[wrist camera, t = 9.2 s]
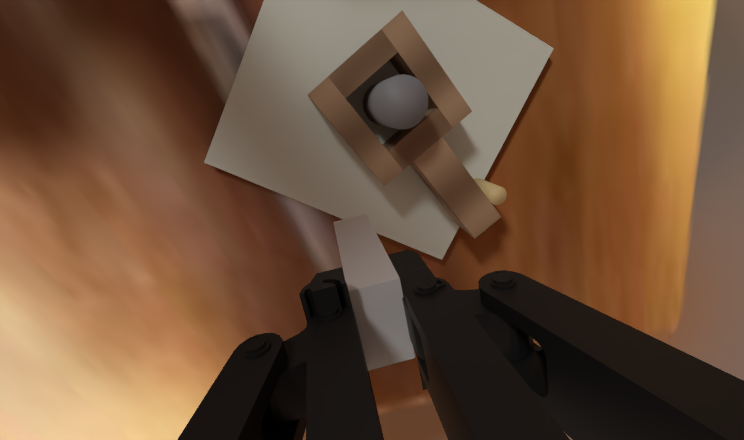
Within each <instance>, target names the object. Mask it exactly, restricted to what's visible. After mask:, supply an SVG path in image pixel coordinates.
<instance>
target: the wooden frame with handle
mask: <svg viewBox="0 0 744 440" xmlns="http://www.w3.org/2000/svg"><path fill="white" fill-rule="evenodd" d="M388 60H389V61H390V62H391V63H392V65H393V66H394V67H395V69H396V70H397V72H398V73H399V74H400V75H401V74H405V75H410V76H413V77H415V78H417V79H418V80H419V81H420V82H421V83H422V84H423V85H424V87H425V89H426V91H427V94H428V109H427V112H426V114H425V116H424V118H423V119H422V120H421V121H420V122H419V123H418V124H417V125H415V126H414V127H412V128H409V129H400V130H398V131H397V132H396V133H395V134H394V135H393V136H392V137H390V138H389V139H388V140H387V141H386V142H385V143H383V144H382V143H381V142H380V141H379V139H378V138H377V137H376V136H375V135H374V133H373V132H372V131H371V130H370V128H369V127H368V126H367V125H366V123H365V122H364V121H363V120H362V118H361V117H360V116H359V115H358V113H357V112H356V111H355V110H354V109H353V107H352V106H351V105H350V104H349V102H348V101H347V100H346V99H345V98H347V97H348V96H349V95H350V94H351V93H352V92H353V91H354V90H356V89H357V88H358V87H359V86H360V85H361V84H362V83H364V82H365V81H366V80H367V79H368V78H369V77H370V76H371V75H373V74H374V73H375V72H376V71H377V70H378V69H379V68H381V67H382V66H383V65H384V64H385V63H386V62H387V61H388ZM308 97H309V98H310V99H311V100H312V102H313V103H314V104H315V105H316V106H317V107H318V109H319V110H320V111H321V112H322V113H323V115H324V116H325V117H326V118H327V119H328V121H329V122H330V123H331V124H332V125H333V126H334V128H335V129H336V130H337V131H338V132H339V134H340V135H341V136H342V137H343V138H344V140H345V141H346V142H347V143H348V144H349V145H350V147H351V148H352V149H353V150H354V151H355V153H356V154H357V155H358V156H359V157H360V159H361V160H362V161H363V162H364V163H365V164H366V166H367V167H368V168H369V169H370V170H371V172H372V173H373V174H374V175H375V176H376V178H377V179H378V180H379V181H380V182H381V183H382V184H383V185H384V186H385V185H386V184H388V183H389V182H390V181H391V180H392V179H393V178H395V177H396V176H397V175H398V174H399V173H400V172H402V171H403V170H404V169H405V168H406V167H408V166H409V165H411V167H412V168H413V169H414V171H415V172H416V173H417V174H418V176H419V177H420V178H421V179H422V181H423V182H424V183H425V184H426V186H427V187H428V188H429V189H430V191H431V192H432V193H433V194H434V196H435V197H436V198H437V199H438V201H439V202H440V203H441V204H442V206H443V207H444V208H445V209H446V211H447V212H448V213H449V215H450V216H451V217H452V218H453V220H454V221H455V222H456V223H457V225H458V226H459V227H461V228H462V229H463V230H464V231H466V232H467V233H468V234H469V235H471V236H472V237H473V238H474V239H475V238H476V237H477V236H479V235H480V234H481V233H482V232H484V231H485V230H486V229H487V228H488V227H490V226H491V225H492V224H493V223H494V222H496V221H497V220H498V219H499V218H501V216H500V214H499V213H498V212H497V210H496V209H495V208H494V206H493V205H492V203H491V202H490V201H489V199H488V198H487V197H486V195H485V194H484V193H483V191H482V190H481V189H480V187H479V186H478V185H477V183H476V182H475V180H474V179H473V178H472V176H471V175H470V174H469V172H468V171H467V170H466V168H465V167H464V166H463V164H462V163H461V162H460V160H459V159H458V157H457V156H456V155H455V153H454V152H453V151H452V149H451V148H450V147H449V145H448V144H447V143H446V141H445V140H444V139H443V136H444V135H445V134H446V133H447V132H449V131H450V130H451V129H452V128H453V127H454V126H456V125H457V124H458V123H459V122H460V121H461V120H463V119H464V118H465V117H466V116H467V115H468V114H470V113H471V112H472V110H471V109H470V107H469V106H468V104H467V103H466V102H465V100H464V99H463V97H462V96H461V94H460V93H459V91H458V90H457V89H456V87H455V86H454V84H453V83H452V81H451V80H450V78H449V77H448V76H447V74H446V73H445V71H444V70H443V68H442V67H441V65H440V64H439V62H438V61H437V60H436V58H435V57H434V55H433V54H432V52H431V51H430V49H429V48H428V47H427V45H426V44H425V42H424V41H423V39H422V38H421V36H420V35H419V34H418V32H417V31H416V29H415V28H414V26H413V25H412V23H411V22H410V21H409V19H408V18H407V16H406V15H405V13H404V12H403V10H402V11H401V12H400V13H399V14H397V15H396V16H395V17H394V18H393V19H392V20H391V21H390V22H388V23H387V24H386V25H385V26H384V27H383V28H382V29H381V30H379V31H378V32H377V33H376V34H375V35H374V36H373V37H372V38H371V39H369V40H368V41H367V42H366V43H365V44H364V45H363V46H362V47H360V48H359V49H358V50H357V51H356V52H355V53H354V54H353V55H351V56H350V57H349V58H348V59H347V60H346V61H345V62H344V63H342V64H341V65H340V66H339V67H338V68H337V69H336V70H335V71H333V72H332V73H331V74H330V75H329V76H328V77H327V78H326V79H325V80H323V81H322V82H321V83H320V84H319V85H318V86H317V87H316V88H314V89H313V90H312V91H311V92H310V93H309V94H308Z"/></svg>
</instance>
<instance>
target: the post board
mask: <svg viewBox="0 0 744 440" xmlns="http://www.w3.org/2000/svg"><path fill="white" fill-rule="evenodd" d="M402 10H403V12H404V13H405V15H406V16H407V18H408V19H409V21H410V22H411V23H412V25H413V26H414V28H415V29H416V31H417V32H418V34H419V35H420V36H421V38H422V39H423V41H424V42H425V44H426V45H427V47H428V48H429V49H430V51H431V52H432V54H433V55H434V57H435V58H436V60H437V61H438V62H439V64H440V65H441V67H442V68H443V70H444V71H445V73H446V74H447V76H448V77H449V78H450V80H451V81H452V83H453V84H454V86H455V87H456V89H457V90H458V91H459V93H460V94H461V96H462V97H463V99H464V100H465V102H466V103H467V104H468V106H469V107H470V109H471V110H472V112H471V113H470V114H468V115H467V116H466V117H465V118H464V119H463V120H461V121H460V122H459V123H458V124H457V125H456V126H454V127H453V128H452V129H451V130H450V131H449V132H447V133H446V134H445V135H444V136H443V139H444V140H445V141H446V143H447V144H448V145H449V147H450V148H451V149H452V151H453V152H454V153H455V155H456V156H457V157H458V159H459V160H460V162H461V163H462V164H463V166H464V167H465V168H466V170H467V171H468V172H469V174H470V175H471V176H472V178H473V179H474V180H475V182H476V183H477V185H478V186H479V187H480V189H481V190H482V191H483V193H484V194H485V195H486V197H487V198H488V199H489V201H490V202H491V203H492V204H494V205H500V204H502V203H503V202H504V201H505V199H506V197H507V193H506V190H505V189H504V188H502V187H500V186H498V185H495V184H493V183H490V182H488V181H485V180H484V179H485V177H486V176H487V174H488V172H489V170H490V168H491V166H492V164H493V162H494V160H495V159H496V157H497V155H498V153H499V151H500V149H501V147H502V145H503V143H504V141H505V140H506V138H507V136H508V134H509V132H510V130H511V128H512V126H513V124H514V123H515V121H516V119H517V117H518V115H519V113H520V111H521V109H522V107H523V105H524V104H525V102H526V100H527V98H528V96H529V94H530V92H531V90H532V88H533V87H534V85H535V83H536V81H537V79H538V77H539V75H540V73H541V71H542V70H543V68H544V66H545V64H546V62H547V60H548V58H549V56H550V54H551V52H552V51H553V49H554V48H552V47H550V46H549V45H547V44H546V43H544V42H542V41H541V40H539V39H538V38H536V37H534V36H533V35H531V34H530V33H528V32H526V31H525V30H523V29H522V28H520V27H518V26H517V25H515V24H513V23H512V22H510V21H509V20H507V19H505V18H504V17H502V16H501V15H499V14H497V13H496V12H494V11H493V10H491V9H489V8H488V7H486V6H485V5H483V4H481V3H480V2H478V1H476V0H264V2H263V4H262V7H261V10H260V13H259V15H258V18H257V21H256V23H255V26H254V29H253V31H252V34H251V37H250V40H249V42H248V45H247V48H246V50H245V53H244V56H243V59H242V61H241V64H240V67H239V69H238V72H237V75H236V77H235V80H234V83H233V86H232V88H231V91H230V94H229V96H228V99H227V102H226V105H225V107H224V110H223V113H222V115H221V118H220V121H219V123H218V126H217V129H216V132H215V134H214V137H213V140H212V142H211V145H210V148H209V151H208V153H207V156H206V159H205V161H204V163H206V164H209V165H211V166H214V167H216V168H219V169H221V170H224V171H226V172H228V173H231V174H233V175H236V176H238V177H241V178H243V179H246V180H248V181H250V182H253V183H255V184H258V185H260V186H263V187H265V188H268V189H270V190H272V191H275V192H277V193H280V194H282V195H285V196H287V197H290V198H292V199H294V200H297V201H299V202H302V203H304V204H307V205H309V206H312V207H314V208H316V209H319V210H321V211H324V212H326V213H329V214H331V215H333V216H336V217H338V218H341V219H343V220H344V219H348V218H352V217H356V216H360V215H365V214H367V216H368V218H369V220H370V222H371V224H372V226H373V228H374V230H375V232H376V233H377V234H380V235H382V236H385V237H387V238H390V239H392V240H395V241H397V242H399V243H402V244H404V245H407V246H409V247H412V248H414V249H417V250H419V251H421V252H424V253H426V254H429V255H431V256H434V257H436V258H439V259H441V260H442V259H443V257H444V255H445V253H446V251H447V249H448V248H449V246H450V244H451V242H452V240H453V238H454V236H455V234H456V232H457V230H458V229H459V226H458V225H457V223H456V222H455V221H454V220H453V218H452V217H451V216H450V215H449V213H448V212H447V211H446V209H445V208H444V207H443V206H442V204H441V203H440V202H439V201H438V199H437V198H436V197H435V196H434V194H433V193H432V192H431V191H430V189H429V188H428V187H427V186H426V184H425V183H424V182H423V181H422V179H421V178H420V177H419V176H418V174H417V173H416V172H415V171H414V169H413V168H412V167H411V165H409V166H408V167H406V168H405V169H404V170H403V171H402V172H400V173H399V174H398V175H397V176H396V177H395V178H393V179H392V180H391V181H390V182H389V183H388V184H386V185H385V186H384V185H383V184H382V183H381V182H380V181H379V180H378V179H377V178H376V176H375V175H374V174H373V173H372V172H371V170H370V169H369V168H368V167H367V166H366V164H365V163H364V162H363V161H362V160H361V159H360V157H359V156H358V155H357V154H356V153H355V151H354V150H353V149H352V148H351V147H350V145H349V144H348V143H347V142H346V141H345V140H344V138H343V137H342V136H341V135H340V134H339V132H338V131H337V130H336V129H335V128H334V126H333V125H332V124H331V123H330V122H329V121H328V119H327V118H326V117H325V116H324V115H323V113H322V112H321V111H320V110H319V109H318V107H317V106H316V105H315V104H314V103H313V102H312V100H311V99H310V98H309V97H308V94H309V93H310V92H311V91H312V90H313V89H314V88H316V87H317V86H318V85H319V84H320V83H321V82H322V81H323V80H325V79H326V78H327V77H328V76H329V75H330V74H331V73H332V72H333V71H335V70H336V69H337V68H338V67H339V66H340V65H341V64H342V63H344V62H345V61H346V60H347V59H348V58H349V57H350V56H351V55H353V54H354V53H355V52H356V51H357V50H358V49H359V48H360V47H362V46H363V45H364V44H365V43H366V42H367V41H368V40H369V39H371V38H372V37H373V36H374V35H375V34H376V33H377V32H378V31H379V30H381V29H382V28H383V27H384V26H385V25H386V24H387V23H388V22H390V21H391V20H392V19H393V18H394V17H395V16H396V15H397V14H399V13H400V12H401V11H402ZM345 99H346V100H347V101H348V102H349V104H350V105H351V106H352V107H353V109H354V110H355V111H356V112H357V113H358V115H359V116H360V117H361V118H362V120H363V121H364V122H365V123H366V125H367V126H368V127H369V128H370V130H371V131H372V132H373V133H374V135H375V136H376V137H377V138H378V139H379V141H380V142H381V143H382V144H383V143H385V142H386V141H387V140H388V139H389V138H390V137H392V136H393V135H394V134H395V133H396V132H397V131H398V130H400V129H409V128H412V127H414V126H415V125H417V124H418V123H419V122H420V121H421V120H422V119H423V118H424V116H425V114H426V112H427V109H428V94H427V91H426V89H425V87H424V85H423V84H422V83H421V82H420V81H419V80H418V79H417V78H415V77H413V76H410V75H405V74H401V75H400V74H399V73H398V72H397V70H396V69H395V67H394V66H393V65H392V63H391V62H390V61H389V60H388V61H387V62H386V63H385V64H384V65H383V66H382V67H381V68H379V69H378V70H377V71H376V72H375V73H374V74H373V75H371V76H370V77H369V78H368V79H367V80H366V81H365V82H364V83H362V84H361V85H360V86H359V87H358V88H357V89H356V90H354V91H353V92H352V93H351V94H350V95H349V96H348V97H347V98H345Z"/></svg>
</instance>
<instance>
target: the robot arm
mask: <svg viewBox="0 0 744 440" xmlns="http://www.w3.org/2000/svg"><path fill="white" fill-rule="evenodd" d="M333 223H334V228H335V233H336V238H337V243H338V248H339V253H340V258H341V263H342V268H338V269H334V270H330V271H326V272H322V273H318V274H316V275H315V277H314V278H313V280H312V281H311V283H310V284H308V285H306V286H305V287H304V288H303V289H302V290H301V292H300V299H301V302H302V305H303V309H304V312H305V316H306V319H307V327H306V328H305V329H304V330H303V331H302V332H300V333H299V334H297V335H296V336H294V337H292V338H290V339H288V340H286V341H283V340H282V338H281V337H280V335H277V334H275V333H264V334H260V335H255V336H253V337H251V338H249V339H247V340H246V341H244V342H243V343H242V344H240V345H239V346H238V347H237V348H236V349H235V350H234V352H233V353H232V355H231V356H230V358H229V359H228V361H227V363H226V364H225V366H224V367H223V369H222V371H221V372H220V374H219V375H218V377H217V378H216V380H215V382H214V383H213V385H212V386H211V388H210V389H209V391H208V393H207V394H206V396H205V397H204V399H203V400H202V402H201V404H200V405H199V407H198V408H197V410H196V411H195V413H194V415H193V416H192V418H191V419H190V421H189V422H188V424H187V426H186V427H185V429H184V430H183V432H182V434H181V435H180V437H179V438H178V440H302V439H303V436H304V432H305V429H306V440H384V438H383V433H382V429H381V425H380V421H379V416H378V411H377V407H376V402H375V398H374V394H373V389H372V385H371V381H370V376H369V372H368V371H370V370H373V369H377V368H380V367H384V366H388V365H391V364H395V363H399V362H402V361H406V360H409V359H413V358H415V354H414V350H415V352H416V355H417V360H418V365H419V370H420V375H421V381H422V386H423V390H425V389H428V391H429V394H430V396H431V399H432V401H433V404H434V406H435V408H436V411H437V413H438V416H439V418H440V421H441V423H442V425H443V428H444V430H445V433H446V435H447V438H448V440H570V439H569V438H568V437H567V436H566V434H567V435H568V436H569V437H571V438H572V439H573V440H744V381H743V380H741V379H739V378H736V377H735V376H733V375H730V374H728V373H726V372H724V371H722V370H720V369H718V368H716V367H714V366H712V365H709V364H708V363H705V362H703V361H701V360H699V359H697V358H695V357H693V356H691V355H689V354H687V353H685V352H683V351H680V350H678V349H676V348H674V347H672V346H670V345H668V344H666V343H664V342H662V341H660V340H658V339H656V338H653V337H651V336H649V335H647V334H645V333H643V332H641V331H639V330H637V329H635V328H633V327H631V326H629V325H626V324H624V323H622V322H620V321H618V320H616V319H614V318H612V317H610V316H608V315H606V314H604V313H601V312H599V311H597V310H595V309H593V308H591V307H589V306H587V305H585V304H583V303H581V302H579V301H576V300H574V299H572V298H570V297H568V296H566V295H564V294H562V293H560V292H558V291H556V290H554V289H552V288H549V287H547V286H545V285H543V284H541V283H539V282H537V281H535V280H533V279H531V278H529V277H527V276H524V275H522V274H520V273H516V272H512V271H505V270H503V271H495V272H492V273H489V274H486V275H485V276H483V277H481V279H480V280H479V282H478V283H479V289H475V290H454V289H453V288H452V287H451V285H450V284H449V283H448V282H446V281H445V280H443V279H440V278H435V276H434V275H433V274H432V272H431V271H430V269H429V268H428V267H427V265H426V264H425V263H424V261H422V258H421V257H420V256H419V254H418V253H416V252H413V251H411V250H405V251H401V252H397V253H393V254H389V255H387V253H386V251H385V249H384V247H383V245H382V243H381V241H380V239H379V237H378V235H377V234H376V232H375V230H374V228H373V226H372V224H371V222H370V220H369V218H368V216H367V214H365V215H360V216H356V217H352V218H348V219H344V220H339V221H335V222H333ZM533 339H535V340H536V341H537V342H538V343H539V344H540V346H541V347H540V346H538V345H537V344H535V343H534V342H533ZM413 347H414V349H413ZM563 431H564V432H565V433H566V434H565V433H564V432H563Z"/></svg>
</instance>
